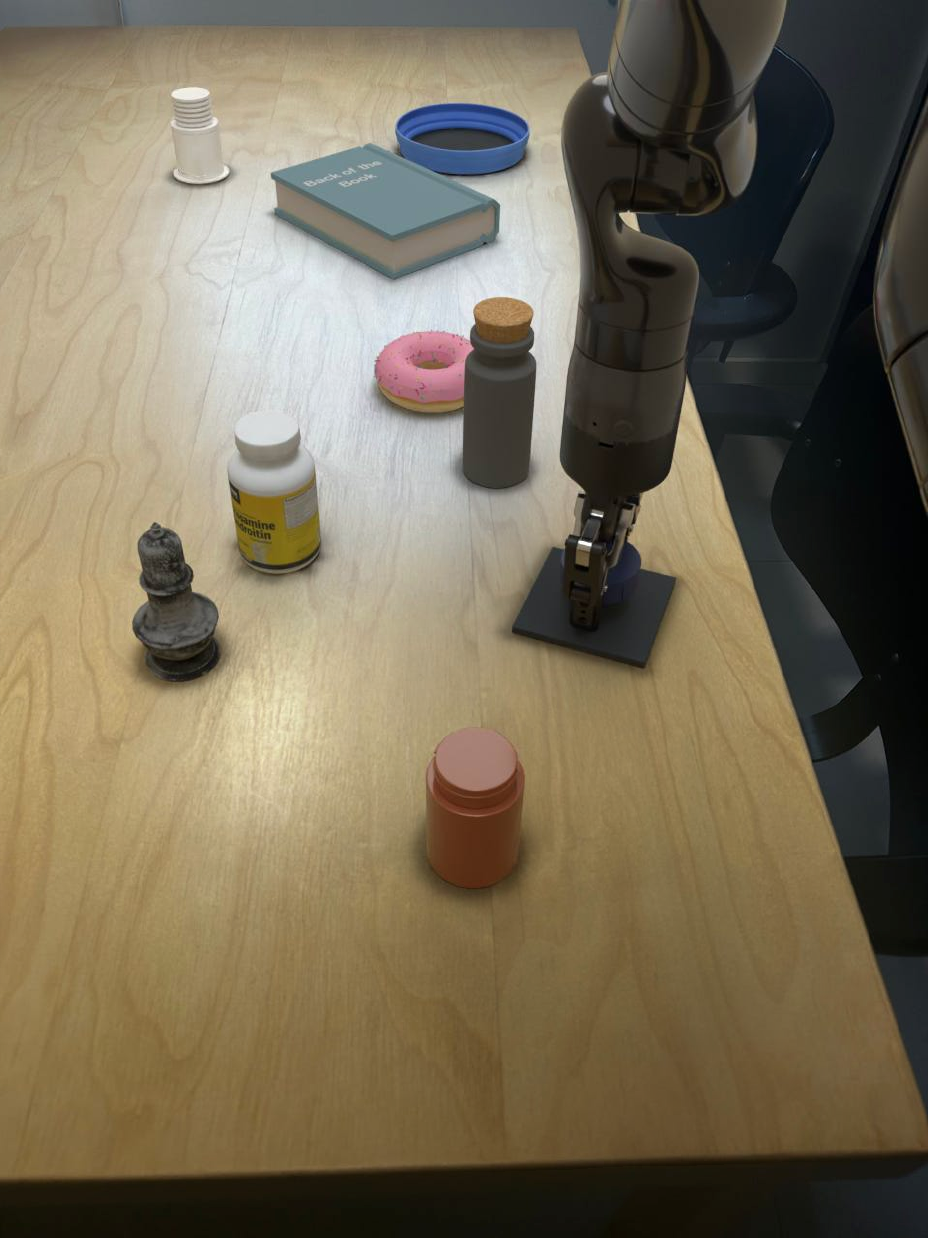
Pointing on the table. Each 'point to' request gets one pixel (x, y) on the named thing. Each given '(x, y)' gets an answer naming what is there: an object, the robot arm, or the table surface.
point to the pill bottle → (274, 493)
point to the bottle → (499, 393)
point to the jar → (474, 807)
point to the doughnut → (424, 371)
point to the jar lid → (619, 574)
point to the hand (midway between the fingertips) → (596, 598)
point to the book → (385, 209)
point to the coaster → (622, 623)
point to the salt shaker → (173, 611)
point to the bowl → (462, 137)
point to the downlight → (196, 137)
